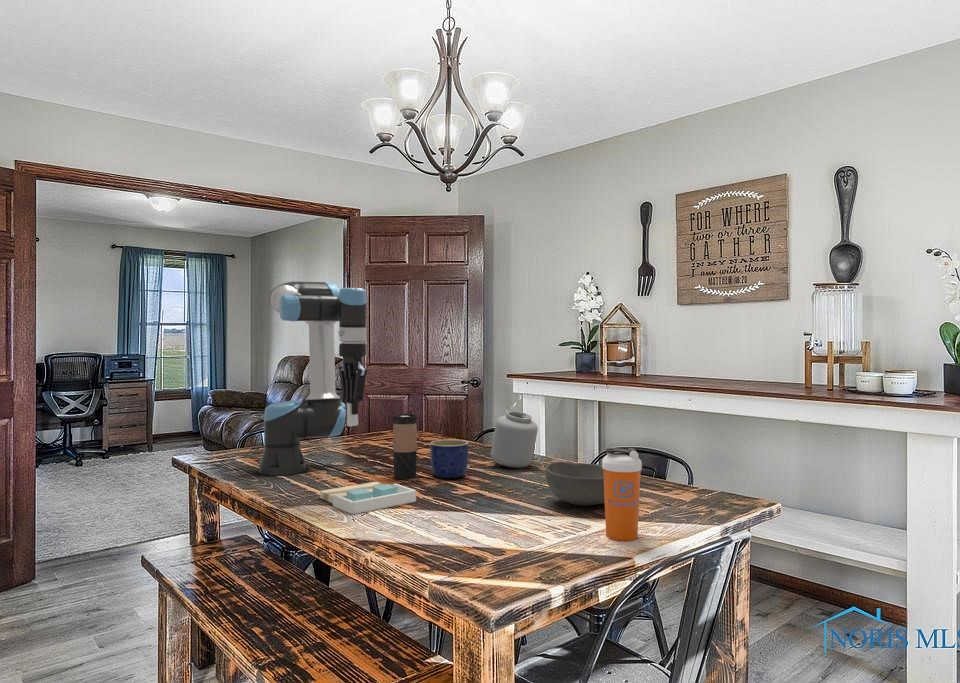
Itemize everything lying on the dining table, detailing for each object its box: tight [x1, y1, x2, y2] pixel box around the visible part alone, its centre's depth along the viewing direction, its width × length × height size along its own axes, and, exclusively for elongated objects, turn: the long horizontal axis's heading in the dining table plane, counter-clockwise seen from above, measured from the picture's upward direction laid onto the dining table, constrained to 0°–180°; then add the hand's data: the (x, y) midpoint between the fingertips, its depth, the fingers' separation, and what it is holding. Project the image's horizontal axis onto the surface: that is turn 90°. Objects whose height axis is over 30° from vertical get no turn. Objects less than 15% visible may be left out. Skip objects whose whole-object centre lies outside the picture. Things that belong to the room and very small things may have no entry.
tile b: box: [347, 489, 372, 501], centre depth 174 cm, size 5×5×3 cm
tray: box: [332, 483, 417, 515], centre depth 175 cm, size 11×20×3 cm, turn 130°
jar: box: [490, 395, 544, 469], centre depth 224 cm, size 19×15×25 cm
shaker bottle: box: [601, 447, 643, 542], centre depth 146 cm, size 9×9×20 cm
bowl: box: [544, 461, 605, 507], centre depth 174 cm, size 20×20×10 cm
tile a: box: [373, 483, 398, 498], centre depth 179 cm, size 5×5×3 cm
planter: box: [429, 439, 469, 479], centre depth 209 cm, size 12×12×11 cm
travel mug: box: [392, 413, 418, 480], centre depth 207 cm, size 8×8×20 cm
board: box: [319, 481, 386, 504], centre depth 183 cm, size 10×18×2 cm, turn 130°
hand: (352, 425), depth 182 cm, fingers closed
